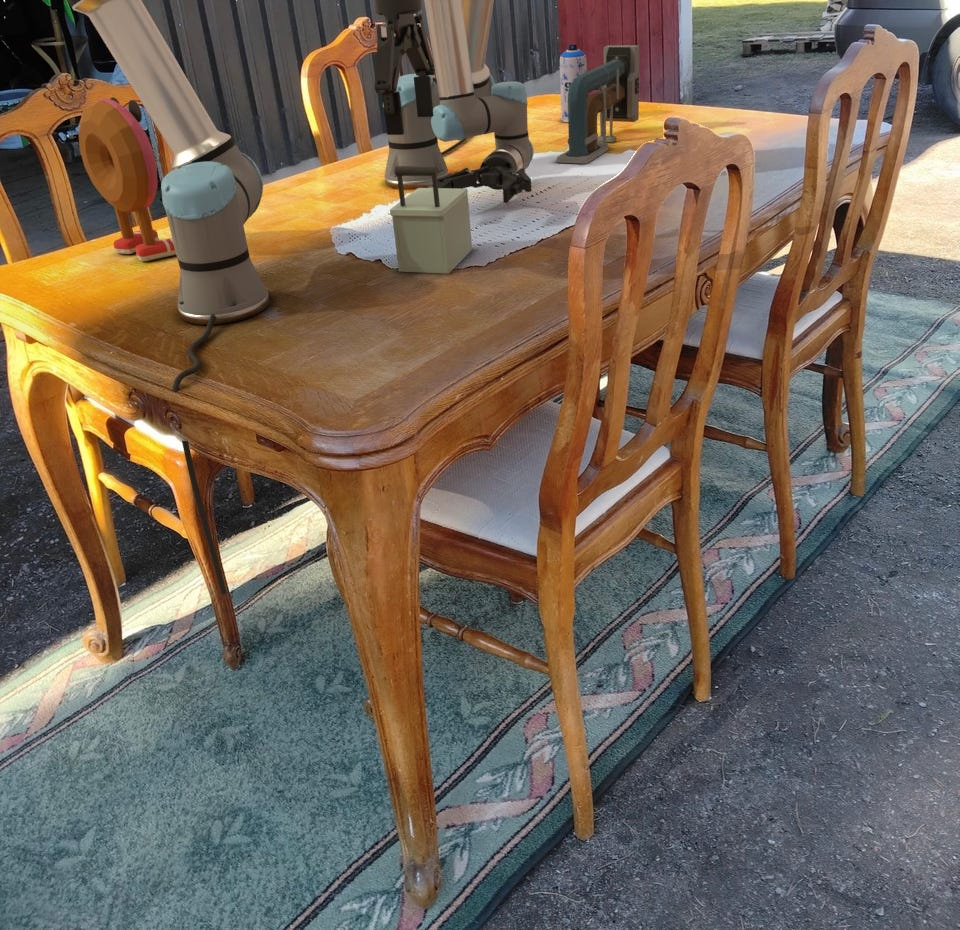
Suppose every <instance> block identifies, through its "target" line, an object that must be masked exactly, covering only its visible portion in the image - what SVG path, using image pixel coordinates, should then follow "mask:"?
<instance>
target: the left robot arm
mask: <svg viewBox="0 0 960 930" xmlns="http://www.w3.org/2000/svg"><path fill="white" fill-rule="evenodd" d="M66 1H67V2H68V4H69V6H70V7H71V8H72V10H73V11H76V12H78V13H81V14H84V15H86V16H87V17H88V18H89V20H90V21H91V23H92V25H93V26H94V28H95V30H96V31H97V33H98V34H99V36H100V37H101V39H102V41H103V43H104V44H105V46H106V48H107V49H108V50H109V52H110V53H111V55H112V57H113V58H114V60H115V62H116V63H117V65H118V67H119V68H120V70H121V71H122V73H123V75H124V76H125V78H126V79H127V81H128V83H129V85H130V87H131V88H132V90H133V91H134V93H135V94H136V96H137V97H138V99H139V101H140V102H141V104H142V106H143V107H144V109H145V110H146V113H147V114H148V116H149V117H150V119H151V120H152V122H153V123H154V125H155V127H156V128H157V131H158V132H159V133H160V135H161V137H162V138H163V140H164V142H165V143H166V144H167V146H168V148H169V150H170V151H171V153H172V161H171V162H172V163H171V166H170V168H171V171H169V172H168V173H167V174H166V175H165V176H164V177H163V178H162V180H161V183H160V186H161V187H160V190H161V199H162V206H163V208H164V210H165V214H166V218H167V222H168V226H169V230H170V231H169V232H170V234H171V238H172V239H173V243H174V247H175V251H176V255H175V256H176V258H177V262H178V266H179V283H178V294H177V310H178V314H179V318H180V319H182V320H183V321H184V322H186V323H189V324H193V325H202V326H203V325H204V326H205V325H206V328H205V331H204V332H203V334H202V335H201V336H200V337H199V338H198V339H196V340H195V341H194V342H193V343H192V344H190V346H189V347H188V349H187V355H188V358H189V359H190V360H191V361H192V363H193V366H192V367H190V368H187V369H184V370H183V371H181V372H180V373H179V374H177V376H175V378H174V380H173V384H172V389H171V391H172V393H177V392H178V391H180V385H181V383H182V381H183V379H185V378H186V377H189V376H190V375H194V374H196V373H197V372H198V371H199V370H200V367H201V361H200V360H199V358H198V357H197V355H196V354H195V350H196V349H197V348H198V347H199V346H201V345H202V344H203V343H204V342H205V341H206V340H207V339H209V337H210V335H211V333H212V330H213V327H214V325H222V324H230V323H233V322H239V321H241V320H245V319H248V318H251V317H253V316H256V315H258V314H260V312H263V311H264V310H265V309H266V308H267V307H268V306H269V305H270V296H269V291H268V289H267V287H266V284H265V283H264V282H263V280H262V278H261V276H260V274H259V272H258V270H257V269H256V267H255V265H254V264H253V262H252V260H251V257H250V251H249V246H248V241H247V236H246V232H245V227H244V225H245V224H246V222H247V221H248V220H249V219H250V218H251V217H252V216H253V215H254V214H255V213H256V211H257V210H258V207H259V206H260V204H261V201H262V197H263V195H264V193H263V192H264V181H263V176H262V173H261V171H260V169H259V167H258V165H257V164H256V163H255V161H254V160H253V159H252V158H251V157H249V155H247V154H246V153H243V152H241V151H240V149H239V147H238V146H237V144H236V142H235V141H234V139H233V137H232V136H231V135H230V134H228V133H225V132H223V131H222V132H221V131H220V130H218V129H217V127H216V125H215V123H214V122H213V121H212V118H211V117H210V115H209V113H208V112H207V110H206V108H205V106H204V105H203V104H202V101H201V100H200V98H199V97H198V95H197V93H196V91H195V90H194V88H193V86H192V85H191V83H190V82H189V80H188V78H187V77H186V74H185V73H184V71H183V70H182V68H181V66H180V64H179V62H178V60H177V59H176V58H175V55H174V54H173V52H172V50H171V48H170V47H169V45H168V43H167V42H166V40H165V38H164V37H163V35H162V33H161V32H160V30H159V29H158V27H157V25H156V23H155V21H154V20H153V17H152V15H151V14H150V13H149V11H148V9H147V8H146V6H145V4H144V3H143V1H142V0H66ZM373 3H374V11H375V13H376V14H377V15H378V16H383V17H384V18H385V19H384V21H385V22H384V23H383V24H381V23H380V24H376V39H377V41H376V58H375V75H374V90H375V93H376V94H382V105H383V104H384V108H383V113H384V119H385V127H386V136H387V135H403V134H404V127H403V118H402V109H401V100H400V92H396V91H397V85H398V79H399V77H400V72H401V68H402V67H401V66H402V61H403V56H404V55H405V54H406V56H407V58H408V61H409V62H410V65H411V67H412V69H413V71H414V73H415V74H416V75H417V76H419V77H414V86H415V96H416V105H417V115H418V117H433V116H434V115H433V104H432V94H431V83H430V76H429V75H431V76H436V72H435V66H434V60H433V54H432V50H431V48H430V45H429V41H428V37H427V33H426V31H425V25H424V17H423V14H422V13H418V12H420V11H422V9H423V1H422V0H373ZM181 444H182V448H183V454H184V458H185V463H186V467H187V472H188V475H189V479H190V483H191V487H192V493H193V496H194V500H195V503H196V507H197V510H198V514H199V517H200V522H201V525H202V528H203V532H204V536H205V539H206V543H207V546H208V550H209V554H210V558H211V561H212V564H213V565H212V566H213V568H214V572H215V576H216V579H217V583H218V587H219V590H220V594H221V595H226V594H227V589H226V588H227V587H226V585H225V580H224V577H223V574H222V569H221V566H220V561H219V558H218V554H217V550H216V546H215V543H214V539H213V536H212V533H211V529H210V526H209V525H210V524H209V522H208V517H207V514H206V511H205V507H204V503H203V499H202V495H201V491H200V487H199V484H198V483H199V482H198V479H197V475H196V471H195V466H194V462H193V457H192V454H191V448H190V442H189V440H181Z"/></svg>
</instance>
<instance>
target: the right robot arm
mask: <svg viewBox="0 0 960 930" xmlns="http://www.w3.org/2000/svg"><path fill="white" fill-rule="evenodd" d="M494 1H495V0H423V2H424V8H425V14H426V21H427V28H428V34H429V39H430V46H431V54H432V58H433V62H434V69H435V77H433V75H429V76H430V83H431V94H432V104H433V115H434V116H433V117H418V115H417V105H416V96H415V86H414V77H419V76H417V75H416V74H415V72H414V73H408V74H404V75H399V79H398V85H397V91H396V92H400V100H401V109H402V118H403V127H404V134H403V135H387V134H386V137H387V142H388V155H387V160H386V166H385V169H384V170H385V171H384V183H385V185H387V187H390V188H393V189H394V188H395V189H399V188H398V179H397V176H396V175H395V167H396V166H437V167H438V175H437V182H438V188H454V189H469V188H471V187H472V188H475V189H477V188H481V187H488V188H490V189H491V190H495V191H500V190H502V196H503V197H502V198H503V204H508V203H509V202H510V201H511V199H513V197H515V196H517V195H519V194H521V193H523V191H524V192H525V193H531V192H532V190H533V189H532V179H531V177H530V176H529V175H528V174H527V173H526V169H527V168H528V167H529V166H530V165H531V163H532V161H533V158H534V154H535V149H534V145H533V144H532V142H531V140H530V136H529V135H530V134H529V129H528V126H529V125H528V97H527V91H526V89H527V88H526V85H525V84H524V83H523V82H520V81H501V82H498V83H496V82H495V79H494V77H493V74H491V71H490V68H489V67H488V66H487V64H486V58H487V57H486V56H487V48H488V43H489V35H490V29H491V22H492V16H493V10H494V9H493V8H494ZM382 107H383V109H384V104H383V103H382ZM493 133H494V135H493V136H494V144H495V145H494V147H495V149H494V150H493V151H491V152H490V153H489V154H488V155H487V156H486V157H485V158H484V159H483V160H482V162H481V164H480V166H479V168H477V169H471V170H469V169H470V168H468V167H464V168H463V169H460V170H458V171H456V172H453V173H449V169H448V166H447V163H446V160H445V159H444V155H445V154H448V153H449V152H451V151H452V150H454V149H455V148H457V147H458V146H461V144H463V143H464V142H465V141H466V140H468V139H469V138H474V137H478V136H482V135H489V134H493ZM439 141H441V142H444V143H446V142H447V143H448V142H454V141H458V142H456V143H454V144H453V145H451V146H450V147H448V148H447V149H445V150H443V151H441V149H440V146H439ZM402 179H403V188H404V190H412V189H418V188H430V187H433V183H432V176H402Z"/></svg>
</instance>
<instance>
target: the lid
mask: <svg viewBox="0 0 960 930" xmlns="http://www.w3.org/2000/svg"><path fill="white" fill-rule="evenodd" d="M395 175H396V176H397V179H398V188H397V189H398V195H399V202H398V203H396V204H395V205H394V206H392V207H391V208H390V209H389V212H390V216H391V217H392V216H435V217H442V216H443V215H444V214H446V213H447V212H448V211H449V210H450V209H451V208H453V207H454V206H455V205H456V204H457V203H458V202H459V201H461V200H462V199H463V198H464V197H465V196H466V195H468V188H463V189H454V188H438V182H437V175H438V167H437V166H396V167H395ZM402 176H432V183H433V186H432V187H424V188H415V190H413V191H412V192H411V193H410V194H408V195H407V196H405V189H404V188H403V179H402ZM468 196H469V195H468Z"/></svg>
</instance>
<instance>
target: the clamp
mask: <svg viewBox="0 0 960 930" xmlns="http://www.w3.org/2000/svg"><path fill="white" fill-rule="evenodd" d="M593 91H598V92H594V93H593V94H591V95H589V94H590V93H592V92H593ZM639 91H640V45H637V44H635V45H633V44H632V45H630V44H629V45H621V44H620V45H606V46H604V47H603V64H601V65H599V66H597V67H595V68H592V69H590V70H587V72H586V73H584V74H581V75H579V76H578V77H577V78H576V79H575V80H574V81H573V82H572V84H571V85H570V88H569V91H568V122H567V125H568V128H567V129H568V139H567V144H568V150H566V151H565V152H563V153H562V154H560V155H558V156H557V157H556V159H555V162H557V163H562V164H563V163H564V164H588V163H590V162H592V161H593V160H595V159H596V158H599V157H600V156H601V155H603V154H604V153H606V152H608V151H610V150H611V147H610V146H609V143H613V142H616V141H617V137H616V136H615V135H613V131H614V130H613V127H614V126H613V125H614V124H613V122H617V123H619V122H622V123H635V122H637V121H638V120H640V119H639V118H640V116H639V113H640V109H639V107H640V104H639V103H640V102H639V101H640V92H639ZM598 114H599V121H600V122H599V125H600V126H599V128H600V129H599V130H600V131H599V132H600V135H599V133H598ZM607 122H609V135H607Z"/></svg>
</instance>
